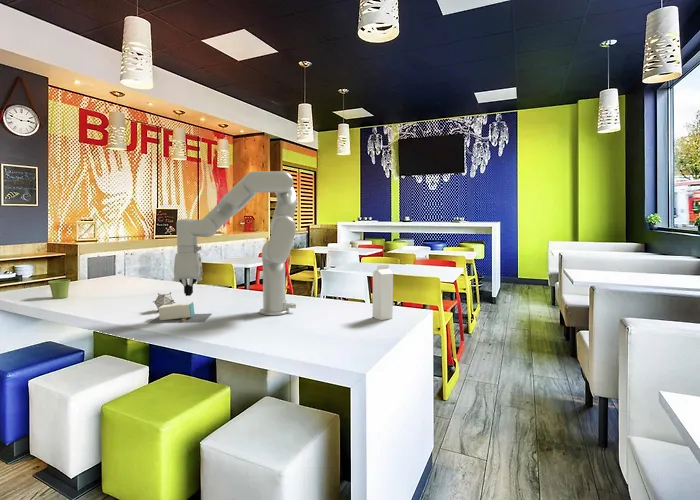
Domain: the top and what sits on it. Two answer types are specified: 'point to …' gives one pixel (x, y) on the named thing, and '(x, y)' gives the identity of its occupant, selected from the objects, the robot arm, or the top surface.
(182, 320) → the mat
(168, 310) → the cream block
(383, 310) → the milk
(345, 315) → the top surface
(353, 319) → the top surface
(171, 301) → the game die
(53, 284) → the plant pot
